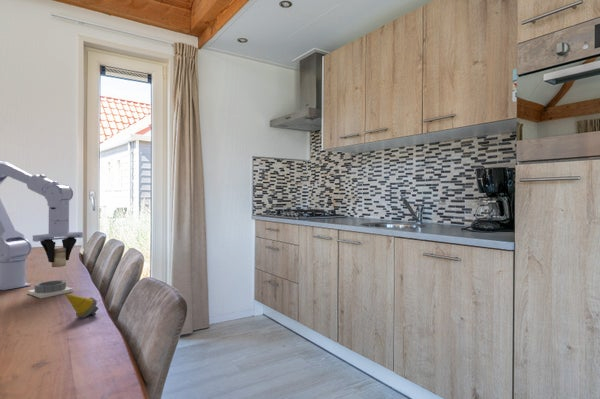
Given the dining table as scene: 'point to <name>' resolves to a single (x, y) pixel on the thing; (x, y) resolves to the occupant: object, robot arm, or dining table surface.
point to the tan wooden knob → (59, 257)
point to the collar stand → (50, 289)
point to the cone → (83, 305)
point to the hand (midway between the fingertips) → (58, 260)
